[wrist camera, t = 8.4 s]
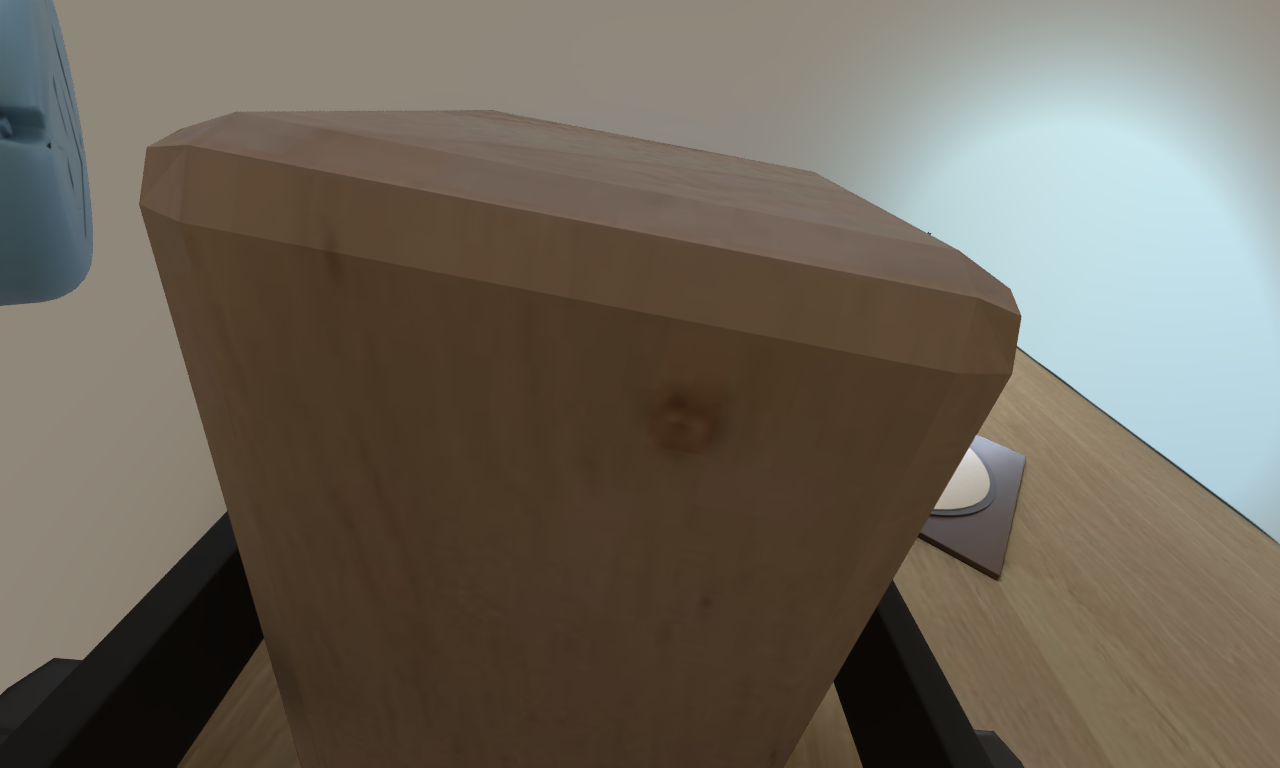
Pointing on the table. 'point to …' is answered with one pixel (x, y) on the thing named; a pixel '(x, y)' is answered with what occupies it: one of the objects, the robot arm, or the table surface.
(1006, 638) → the table surface
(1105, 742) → the table surface
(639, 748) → the wooden block
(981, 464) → the brown flat square board
